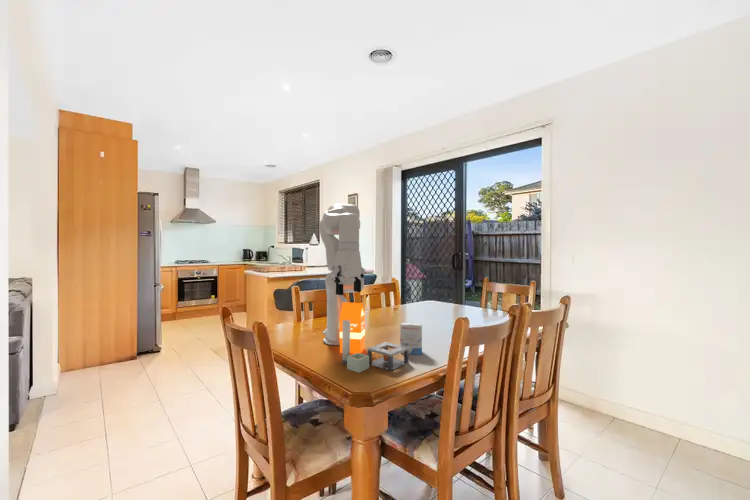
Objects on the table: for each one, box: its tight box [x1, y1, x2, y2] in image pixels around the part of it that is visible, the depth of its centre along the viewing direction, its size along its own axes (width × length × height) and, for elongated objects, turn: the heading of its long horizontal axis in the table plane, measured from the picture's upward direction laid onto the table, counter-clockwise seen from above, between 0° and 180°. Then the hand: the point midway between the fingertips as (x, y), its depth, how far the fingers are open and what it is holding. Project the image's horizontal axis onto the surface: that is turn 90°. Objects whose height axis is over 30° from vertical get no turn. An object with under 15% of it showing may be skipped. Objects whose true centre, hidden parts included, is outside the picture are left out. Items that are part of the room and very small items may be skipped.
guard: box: [366, 341, 410, 372], centre depth 132 cm, size 11×11×6 cm
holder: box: [346, 353, 370, 374], centre depth 127 cm, size 6×6×4 cm
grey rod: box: [341, 320, 351, 366], centre depth 132 cm, size 3×3×16 cm
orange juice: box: [339, 302, 366, 355], centre depth 147 cm, size 8×9×20 cm
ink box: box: [399, 322, 423, 356], centre depth 146 cm, size 9×5×12 cm, turn 74°
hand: (348, 293), depth 131 cm, fingers open, 9 cm apart
